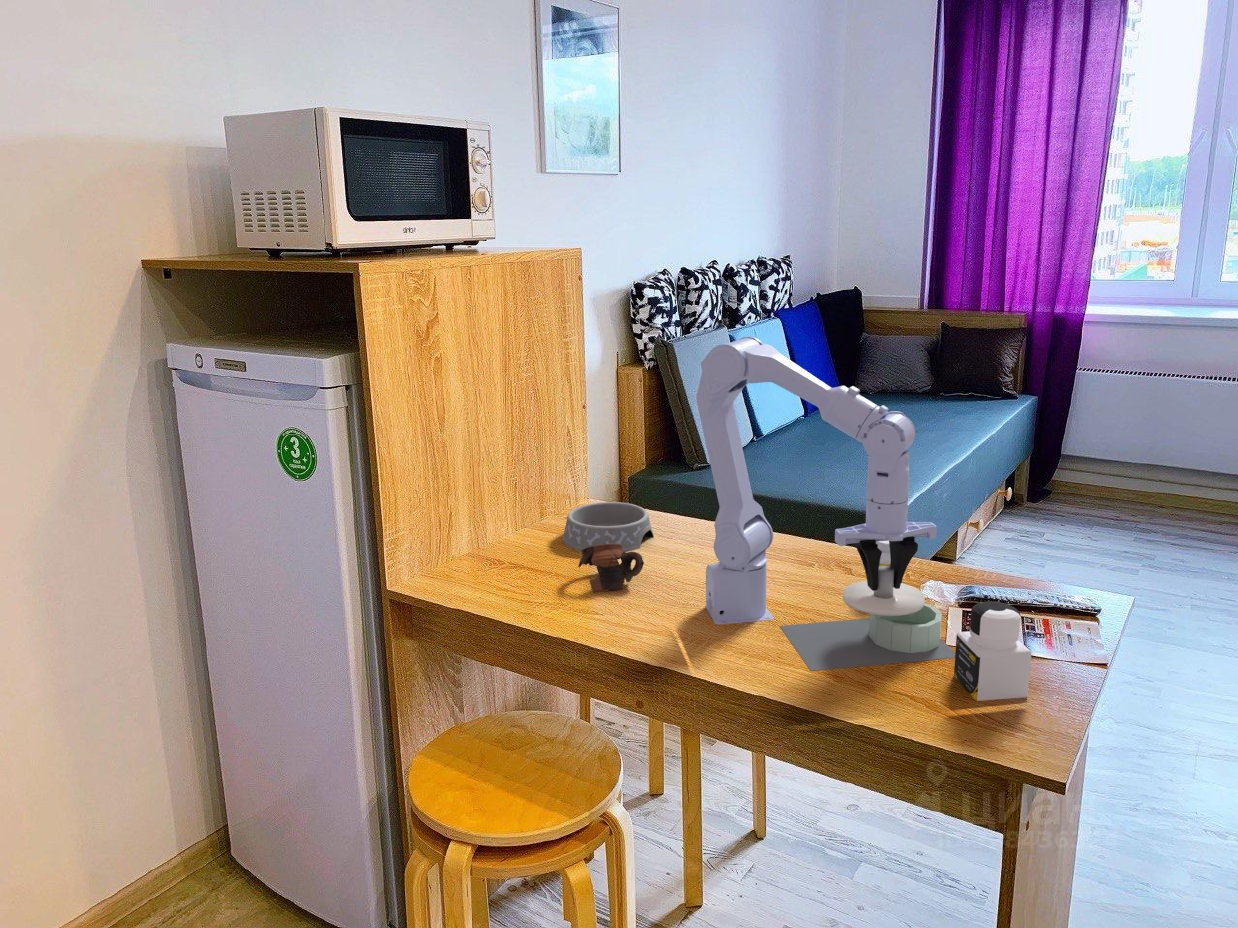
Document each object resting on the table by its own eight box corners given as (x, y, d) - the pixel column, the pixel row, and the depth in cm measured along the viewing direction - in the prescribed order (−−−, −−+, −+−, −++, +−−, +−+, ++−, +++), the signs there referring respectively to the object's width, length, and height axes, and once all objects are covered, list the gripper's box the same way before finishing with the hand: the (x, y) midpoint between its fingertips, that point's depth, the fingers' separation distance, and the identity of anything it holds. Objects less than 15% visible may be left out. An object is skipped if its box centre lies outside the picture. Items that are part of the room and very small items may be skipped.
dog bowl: (664, 529, 197) (664, 504, 195) (629, 559, 181) (628, 532, 179) (589, 520, 204) (588, 496, 202) (549, 549, 188) (547, 523, 186)
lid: (860, 618, 135) (861, 587, 134) (831, 588, 146) (832, 558, 145) (938, 612, 136) (940, 580, 135) (904, 582, 148) (905, 552, 146)
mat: (810, 674, 135) (810, 670, 134) (779, 629, 149) (779, 625, 149) (959, 660, 137) (959, 656, 137) (914, 617, 152) (915, 614, 151)
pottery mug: (574, 595, 166) (568, 548, 168) (594, 599, 174) (588, 554, 176) (640, 583, 162) (633, 535, 164) (657, 588, 171) (650, 542, 173)
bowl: (885, 655, 138) (887, 629, 137) (859, 626, 148) (860, 602, 147) (951, 649, 139) (953, 623, 138) (921, 620, 149) (923, 596, 148)
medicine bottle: (952, 678, 132) (958, 598, 129) (1002, 675, 133) (1009, 594, 130) (975, 704, 125) (981, 620, 122) (1028, 701, 126) (1036, 616, 123)
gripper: (848, 510, 133) (845, 601, 136) (948, 503, 134) (943, 593, 138) (830, 495, 139) (828, 583, 143) (926, 488, 141) (922, 575, 145)
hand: (883, 587), depth 141 cm, fingers closed on lid, 3 cm apart
